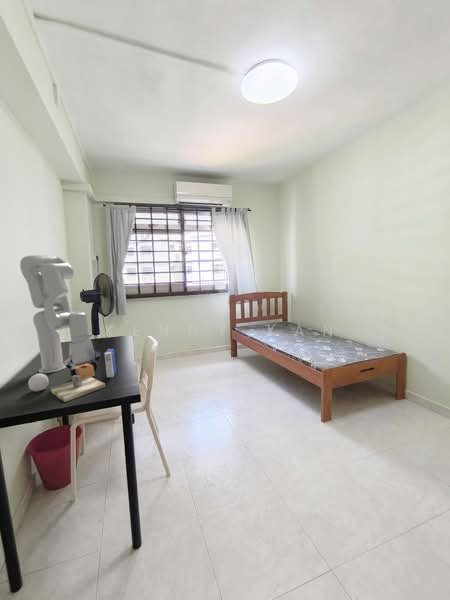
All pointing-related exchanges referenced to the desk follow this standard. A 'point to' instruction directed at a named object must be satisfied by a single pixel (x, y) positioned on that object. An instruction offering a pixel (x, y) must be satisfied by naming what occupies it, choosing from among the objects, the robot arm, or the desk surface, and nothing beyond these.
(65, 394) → the board
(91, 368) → the orange block
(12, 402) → the desk surface
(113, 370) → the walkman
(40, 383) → the white egg
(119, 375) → the desk surface
